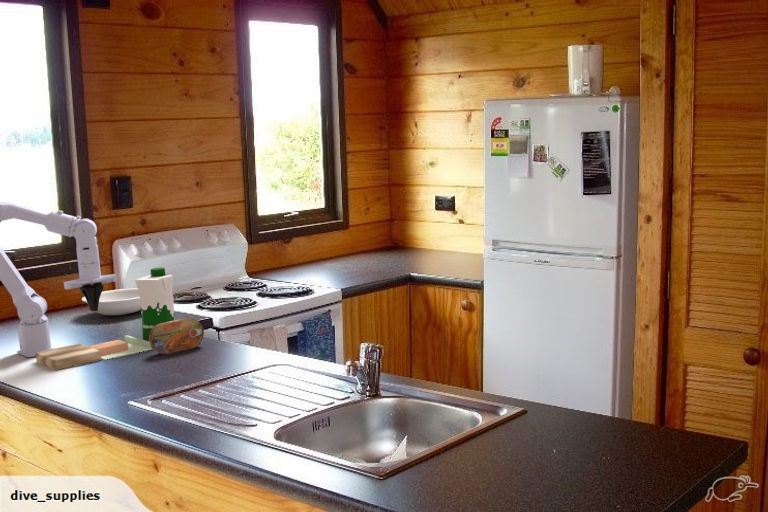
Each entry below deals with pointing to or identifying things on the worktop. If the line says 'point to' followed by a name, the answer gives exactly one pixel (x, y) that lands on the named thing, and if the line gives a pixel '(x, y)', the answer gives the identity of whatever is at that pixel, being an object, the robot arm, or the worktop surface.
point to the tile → (111, 347)
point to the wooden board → (68, 356)
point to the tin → (176, 336)
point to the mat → (130, 348)
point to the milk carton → (155, 299)
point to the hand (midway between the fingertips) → (94, 310)
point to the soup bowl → (118, 302)
